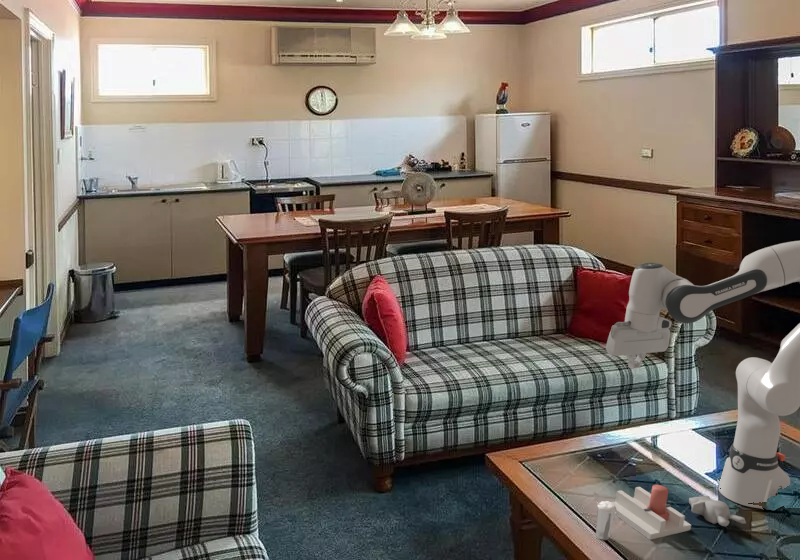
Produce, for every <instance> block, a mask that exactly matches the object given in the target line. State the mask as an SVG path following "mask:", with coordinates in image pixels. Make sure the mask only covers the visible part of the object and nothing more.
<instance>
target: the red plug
mask: <svg viewBox="0 0 800 560" xmlns="http://www.w3.org/2000/svg"><path fill="white" fill-rule="evenodd" d="M650 494H651V497H650V503H649V507H647V508H651V511H653V512H654V513H656V514H657V515H659V516H660V517H662V518H663V519H664V520H666V521H667V520H668V518H669V513H668V512H667V511H665V508H666V504H667V500H668V495H669V488H668V487H666V486H664V485H662V484H661V485H660V484H654V485H652V486H651V492H650Z"/></svg>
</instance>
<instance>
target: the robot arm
mask: <svg viewBox="0 0 800 560" xmlns="http://www.w3.org/2000/svg"><path fill="white" fill-rule="evenodd" d="M796 282H797V283H799V284H800V240H794V241H787V242H782V243H778V244H774V245H770V246H767V247H766V246H765V247H764V248H761V249H758V250H756V251H753V252H751V253H749V254H748V255H746V256H744V258H743V259H742V261H740V264H739V270H737V272H736V273H735V274H733V275H732V276H728V277H726V278H724V279H721V280H719V281H715V282H712V283H710V284H707V285H695V284H694V283H692V282H691V281H689V280H688V279H687V278H684V277H682V276H679V275H678V274H675V273H673V272H672V271H670V270H669V269H667V268H666V267H665V265H664V264H661V263H658V262H647V263H640V264H639V265H637V266H636V267H635V268H634V270H633V272H632V276H631V280H630V283H629V284H630V285H629V288H628V289H629V290H628V296H629V298H628V299H629V300H628V302H627V305H626V311H625V317H624V321H617V322H616V323H614V325H612V326H611V329H610V332H609V335H608V337H607V341H606V346H605V350H606V352H607V353H608V354H609V355H611V356H614V357H619V356H626V358H627V360H628V365H627V366H628V368H629V369H633V370H634V369H640V368H641V367H642V366H641V365H642V363H643V361H644V360H645V358H646V356H647V355H646V354H650V353H660V352H661V353H663V352H666V350H667V349H668V348H669V344H670V338H671V330H670V329H671V327H672V324H673V322H672V320H670V319H667V318H665V317H662V316H661V315H660V313H661V310H663V311H664V310H666V311H667V312H668V314H669V316H670V317H671V318H672V319H673V320H675V321H676V322H678V323H681V324H693V323H696V322H698V321H699V320H701V319H703V318H704V317H705V316H706V315H708V314H709V313H711V311H713V310H716V309H718V308H720V307H723V306H726V305H728V304H731V303H735V302H737V301H739V300H743V299H745V298H748V297H750V296H753V295H755V294H759V293H762V292H766V291H769V290H773V289H777V288H779V287H783V286H787V285H789V284H792V283H796ZM779 347H780V348H779V350H778V353H777V355H776V357H774V360H773V361H772V362H771V361H769V360H767V359H763V358H760V357H753V356H752V357H747V358H745V359H743V360H742V361H740V362H739V363H738V365H737V366H736V370H735V378H736V382H737V423H736V428H735V434H734V439H733V442H732V443H731V445H730V449H729V453H728V454H729V456H728V457H727V458H726V460H725V463H724V467H723V470H722V473H721V476H720V477H721V479H720V481H719V480H718V479H717V480H716V481H717V483H718V485H719V486H718V492H719V493H720V495H722V496H724V498H726V499H728V500H729V501H732V502H734V503H736V504H740V505H742V506H746V507H749V508H756V509H761V510H764V509H763V508H762V506H759V505H753V504H748V503H753V502H754V503H759V502H761V503H762V502H767V499H768V498H770V497H771V496H775V495H776V496H777V495H778V492H777V491H778V490H779V489H784V488H786V487H787V486H789V485H790V486H791V478H790V476H789V475H788V474H787V473H786V472H785V471H784V470H783V469H782V468H781V467H780V465H779V461H781V462H784V461H785V460H786V455H785V454H783V453H781V452H779V451H778V446H779V441H780V436H781V431H782V428H781V426H782V425H781V423H780V418H779V416H780V417H786V416H790V415H792V414H794V413H795V412H797V411H798V410H799V408H800V322H799V323H798V324H797V325H796V326H795V327H794V328H793V329H792V330H791V331H790V332H789V333H788V334H787V335H785V337H784V338H783V339H782V340H781V341H780V346H779ZM777 451H778V452H777ZM778 460H779V461H778ZM720 488H721V489H720Z"/></svg>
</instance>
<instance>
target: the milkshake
mask: <svg viewBox="0 0 800 560" xmlns="http://www.w3.org/2000/svg"><path fill="white" fill-rule="evenodd" d="M595 499H596V503H597V511H596V512H597V514H596V529H595V530H596V531H595V537H596V538H597V539H599V540H602V541H607V540H609V539H610V536H611V534H612V533H611V532H612V528H613V524H614V522H615V521H614V520H615V517H616V515H615V514H616V510H617V509H616V507H615V505H614V504H613V503H611V502H612V501H609V500H606V501H605V500H603V501H600V502H598V497H597V496H595Z"/></svg>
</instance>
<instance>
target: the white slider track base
mask: <svg viewBox="0 0 800 560" xmlns="http://www.w3.org/2000/svg"><path fill="white" fill-rule="evenodd" d="M650 497H651V492H649V491H648V490H645V489H644V488H642V487H641V486H636V487H635V488H634V493H633V497H632V496H631V495H629V494H627V493H626V491H623V490H617V491H616V495H615V501H610V502H611V503H613V504H614V505H615V507H616V509H617V510H616V514H615V517H618V518H619V519H621V520H622V521H623V522H624V523H626V524H627V525H628V526H630V527H631V528H633V529H635V530H636V532H638V533H640V534H641V535H642V536H644V537H645V538H647V540H655V539H659V538H664V537H667V536H672V535H675V534H679V533H683V532H688V531H691V529H692V528H691V527H692V524H690V523H689V522H688V521H686V520H685V519H686V518H685V517H686V515H684V514H683V513H681V512H679V511H678V510H676V509H675V508H673V507H671V504H670V503H666V508H665V511H667V512H668V513H669V518H668V520H667V521H666V520H664V519H663V518H662V517H660V516H659V515H657V514H656V513H654V512H653V511H651V508H647V507H649V503H650Z"/></svg>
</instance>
